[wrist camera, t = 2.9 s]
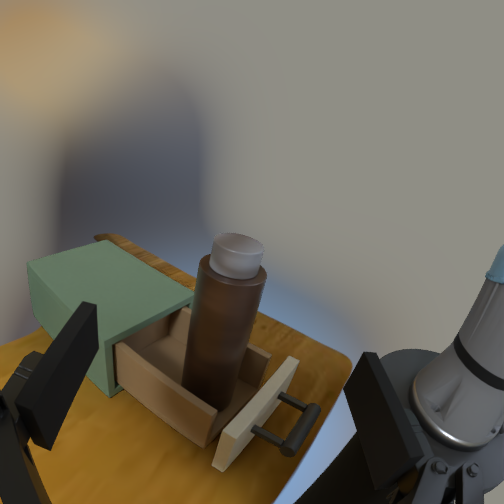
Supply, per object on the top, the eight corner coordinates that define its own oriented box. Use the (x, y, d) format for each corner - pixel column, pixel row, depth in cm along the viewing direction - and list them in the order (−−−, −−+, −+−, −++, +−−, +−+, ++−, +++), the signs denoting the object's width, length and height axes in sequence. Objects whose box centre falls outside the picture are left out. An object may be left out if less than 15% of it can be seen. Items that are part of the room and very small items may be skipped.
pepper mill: (240, 393, 30) (285, 247, 24) (211, 422, 25) (251, 265, 19) (201, 369, 31) (229, 224, 25) (169, 393, 27) (189, 236, 21)
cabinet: (188, 346, 37) (196, 293, 34) (109, 398, 27) (103, 341, 24) (105, 287, 44) (106, 239, 41) (33, 315, 33) (26, 262, 30)
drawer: (317, 416, 30) (338, 379, 27) (265, 497, 20) (288, 467, 18) (171, 332, 37) (176, 292, 35) (98, 376, 28) (93, 332, 25)
